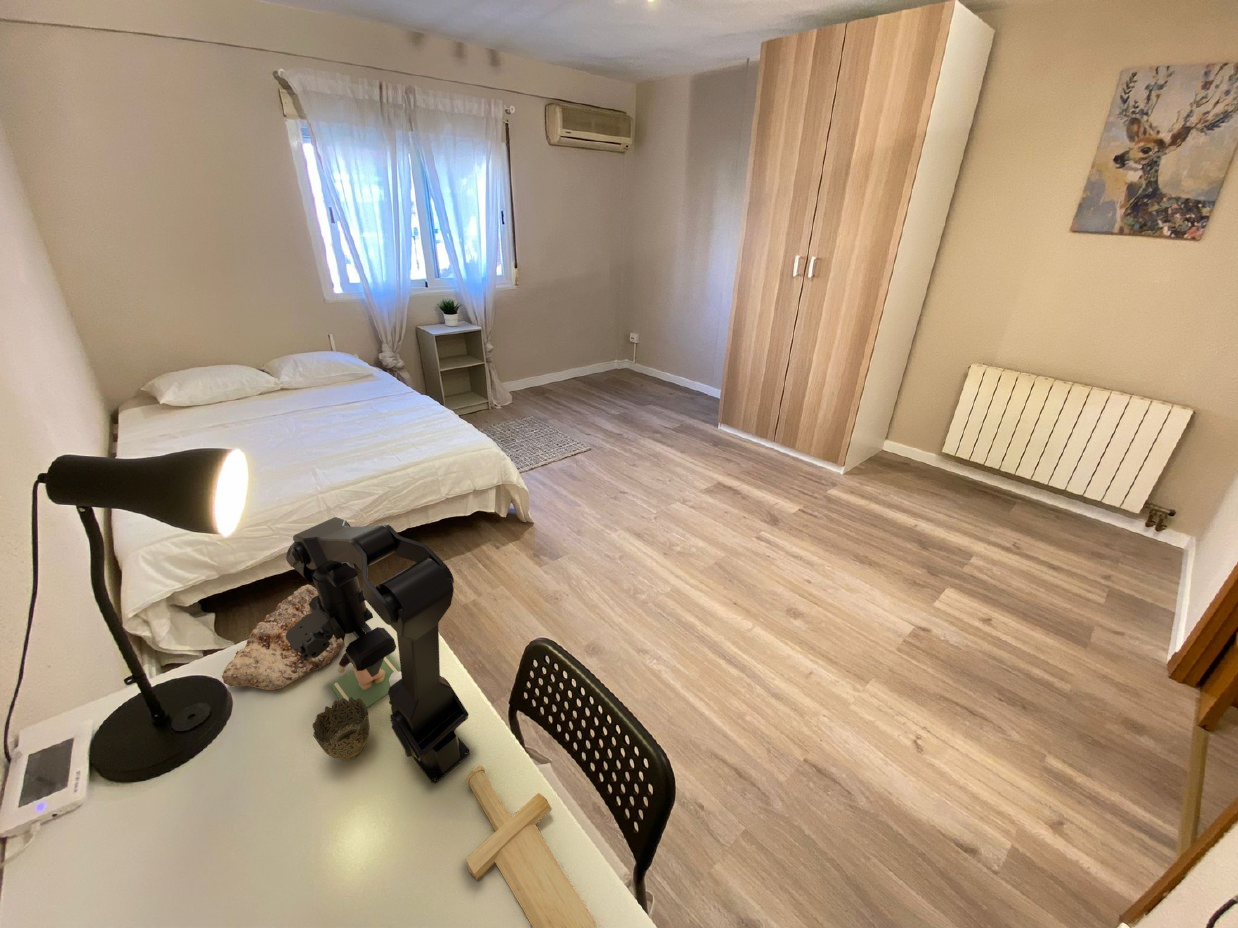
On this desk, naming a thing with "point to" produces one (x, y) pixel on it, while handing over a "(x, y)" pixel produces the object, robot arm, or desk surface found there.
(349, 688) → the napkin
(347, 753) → the cup
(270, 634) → the stone
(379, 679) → the grandmother figurine
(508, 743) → the desk surface
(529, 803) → the toy sword
